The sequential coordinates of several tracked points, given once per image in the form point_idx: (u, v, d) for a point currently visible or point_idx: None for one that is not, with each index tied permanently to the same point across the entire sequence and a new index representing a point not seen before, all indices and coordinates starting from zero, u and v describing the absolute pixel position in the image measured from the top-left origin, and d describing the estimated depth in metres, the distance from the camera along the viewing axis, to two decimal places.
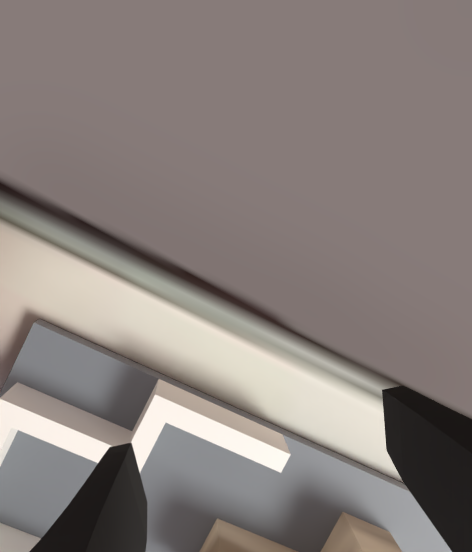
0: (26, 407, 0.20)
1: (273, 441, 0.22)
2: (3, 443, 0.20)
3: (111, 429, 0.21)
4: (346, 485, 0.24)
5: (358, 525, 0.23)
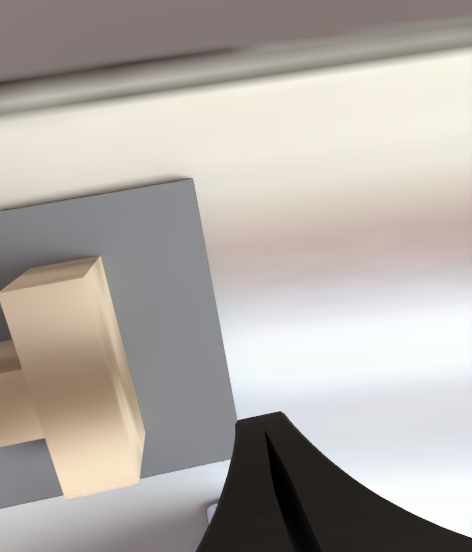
0: None
1: None
2: None
3: None
4: (7, 238, 0.19)
5: (40, 269, 0.18)
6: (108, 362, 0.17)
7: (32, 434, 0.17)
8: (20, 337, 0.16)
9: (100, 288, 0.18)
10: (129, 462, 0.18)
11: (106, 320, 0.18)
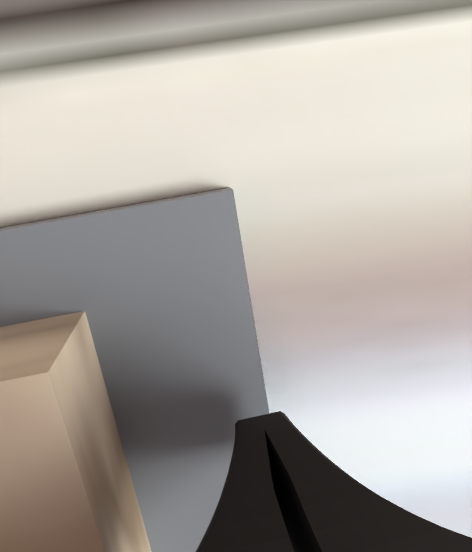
0: None
1: None
2: None
3: None
4: None
5: None
6: (96, 503, 0.10)
7: None
8: None
9: (83, 370, 0.11)
10: None
11: (93, 423, 0.11)
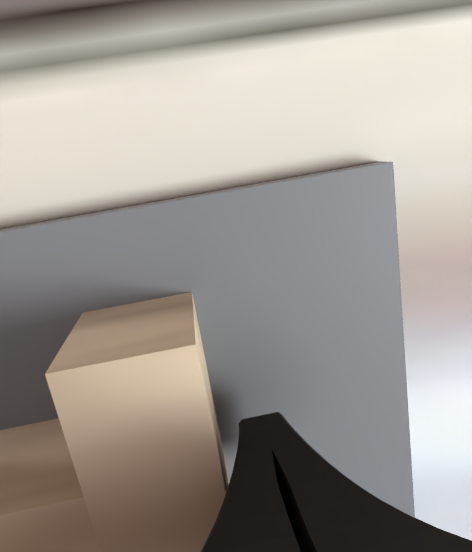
0: None
1: None
2: None
3: None
4: (104, 256, 0.12)
5: (103, 317, 0.11)
6: (222, 476, 0.10)
7: None
8: (82, 446, 0.09)
9: (201, 348, 0.11)
10: None
11: (210, 400, 0.11)
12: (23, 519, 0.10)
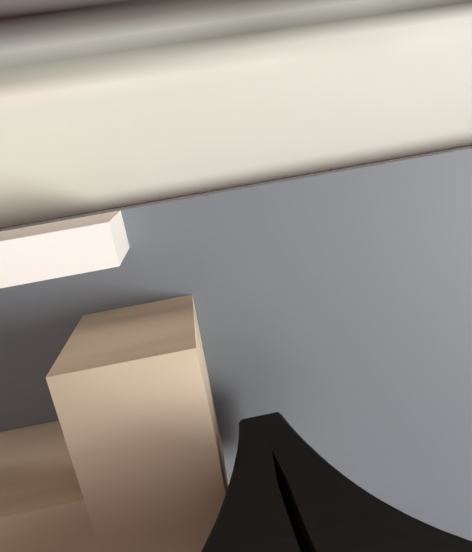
0: None
1: (77, 224, 0.10)
2: None
3: None
4: (294, 221, 0.12)
5: (103, 319, 0.11)
6: (222, 479, 0.10)
7: None
8: (83, 449, 0.09)
9: (201, 351, 0.11)
10: None
11: (210, 402, 0.11)
12: (23, 522, 0.10)
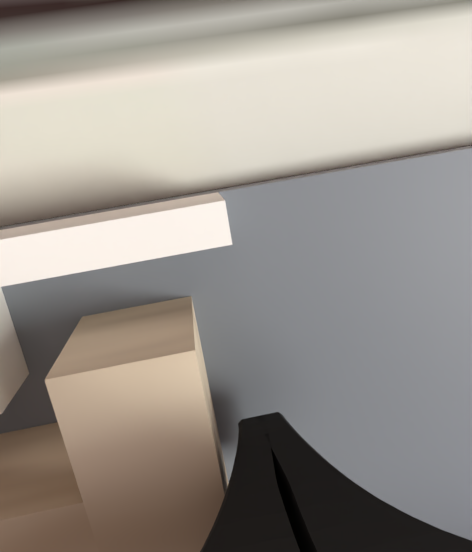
0: None
1: (188, 203, 0.10)
2: None
3: None
4: (384, 204, 0.12)
5: (102, 321, 0.11)
6: (221, 481, 0.10)
7: None
8: (82, 451, 0.09)
9: (200, 353, 0.11)
10: None
11: (210, 404, 0.11)
12: (22, 525, 0.10)
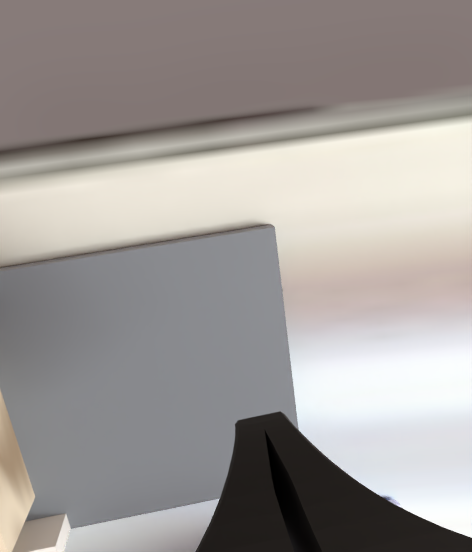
0: None
1: None
2: None
3: None
4: (101, 279, 0.20)
5: None
6: None
7: None
8: None
9: None
10: None
11: None
12: None
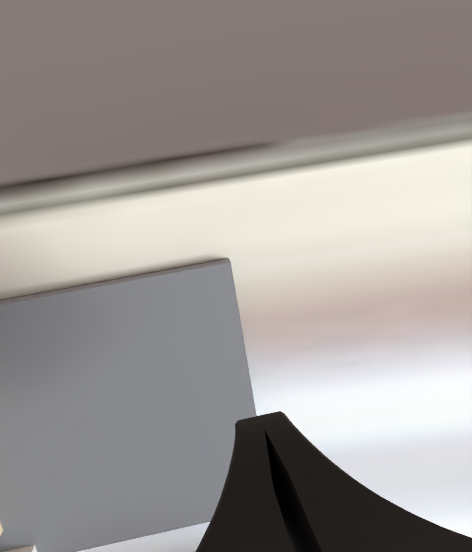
0: None
1: None
2: None
3: None
4: (59, 318, 0.20)
5: None
6: None
7: None
8: None
9: None
10: None
11: None
12: None
